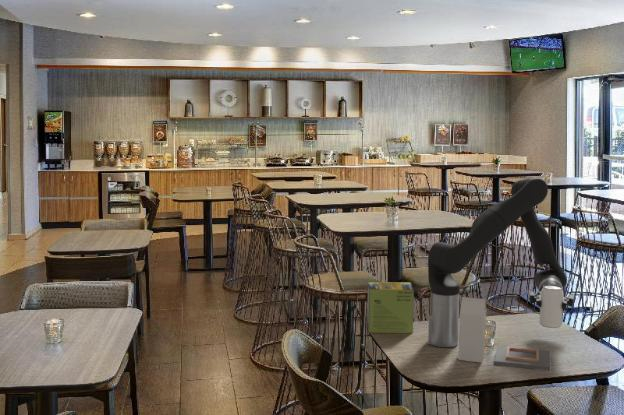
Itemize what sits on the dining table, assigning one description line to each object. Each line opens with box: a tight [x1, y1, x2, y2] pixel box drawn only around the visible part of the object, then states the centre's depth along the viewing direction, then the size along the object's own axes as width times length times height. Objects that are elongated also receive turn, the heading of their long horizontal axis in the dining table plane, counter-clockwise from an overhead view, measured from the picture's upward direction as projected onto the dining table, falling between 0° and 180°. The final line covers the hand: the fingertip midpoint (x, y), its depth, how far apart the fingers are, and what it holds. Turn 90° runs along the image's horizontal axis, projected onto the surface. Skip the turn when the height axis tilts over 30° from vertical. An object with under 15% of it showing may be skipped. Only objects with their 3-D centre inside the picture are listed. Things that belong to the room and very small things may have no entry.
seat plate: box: [493, 344, 551, 371], centre depth 214 cm, size 16×15×2 cm
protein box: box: [366, 281, 415, 334], centre depth 242 cm, size 10×15×16 cm
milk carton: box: [457, 296, 487, 364], centre depth 213 cm, size 7×7×19 cm
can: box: [539, 285, 565, 329], centre depth 212 cm, size 6×6×12 cm
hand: (551, 304), depth 210 cm, fingers closed on can, 6 cm apart
